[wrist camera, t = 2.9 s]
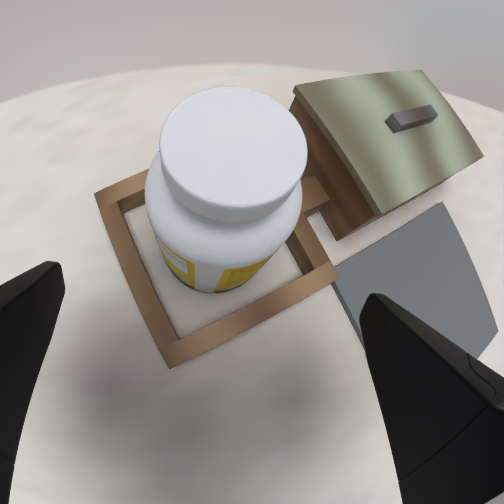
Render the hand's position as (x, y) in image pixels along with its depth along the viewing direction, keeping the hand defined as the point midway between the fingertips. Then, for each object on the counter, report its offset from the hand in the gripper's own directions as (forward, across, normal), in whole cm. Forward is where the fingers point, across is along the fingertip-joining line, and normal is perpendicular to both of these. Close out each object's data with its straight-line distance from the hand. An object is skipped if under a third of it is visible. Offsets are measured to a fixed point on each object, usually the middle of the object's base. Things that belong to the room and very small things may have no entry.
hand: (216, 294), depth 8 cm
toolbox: (+14, -7, +2) cm, 16 cm away
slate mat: (+9, -18, +7) cm, 21 cm away
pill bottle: (+11, 0, +5) cm, 12 cm away
